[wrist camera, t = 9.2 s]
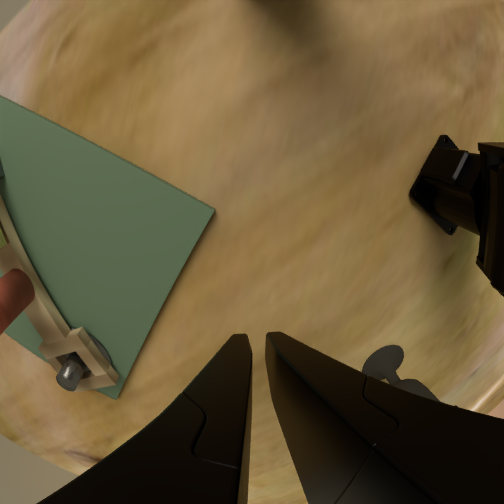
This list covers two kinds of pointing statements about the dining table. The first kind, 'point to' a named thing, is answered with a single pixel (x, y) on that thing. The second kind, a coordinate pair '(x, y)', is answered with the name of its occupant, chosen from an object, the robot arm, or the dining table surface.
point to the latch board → (93, 233)
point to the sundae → (393, 371)
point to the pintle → (77, 366)
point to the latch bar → (44, 313)
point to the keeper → (0, 239)
